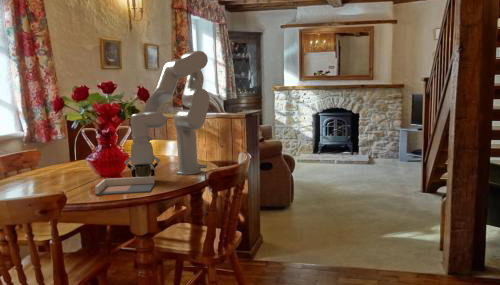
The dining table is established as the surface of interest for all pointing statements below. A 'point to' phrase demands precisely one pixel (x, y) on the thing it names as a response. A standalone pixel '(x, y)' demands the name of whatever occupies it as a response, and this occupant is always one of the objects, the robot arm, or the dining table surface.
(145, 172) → the cup
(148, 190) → the mat
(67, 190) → the dining table surface
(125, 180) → the corner walls
